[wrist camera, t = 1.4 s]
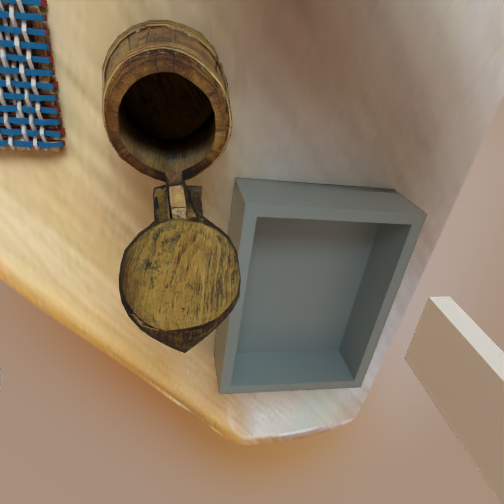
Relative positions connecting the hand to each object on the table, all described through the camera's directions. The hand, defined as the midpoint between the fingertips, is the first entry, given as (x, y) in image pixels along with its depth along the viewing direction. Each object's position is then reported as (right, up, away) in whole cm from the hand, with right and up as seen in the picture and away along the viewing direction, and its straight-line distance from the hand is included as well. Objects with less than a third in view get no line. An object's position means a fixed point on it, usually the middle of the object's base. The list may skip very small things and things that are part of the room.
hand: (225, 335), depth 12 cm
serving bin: (+5, 0, +28) cm, 28 cm away
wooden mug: (-5, +13, +18) cm, 23 cm away
